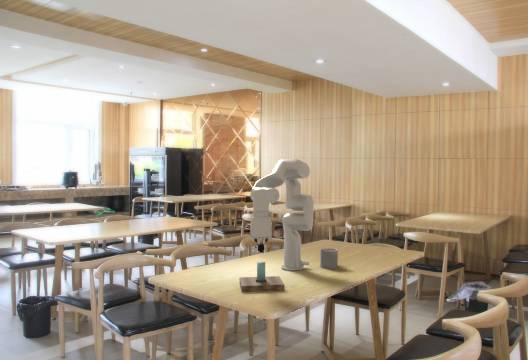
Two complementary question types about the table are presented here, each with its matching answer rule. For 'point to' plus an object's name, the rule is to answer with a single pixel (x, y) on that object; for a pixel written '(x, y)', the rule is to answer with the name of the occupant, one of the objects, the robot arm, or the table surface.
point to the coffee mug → (329, 258)
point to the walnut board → (261, 284)
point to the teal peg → (261, 271)
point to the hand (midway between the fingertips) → (261, 252)
